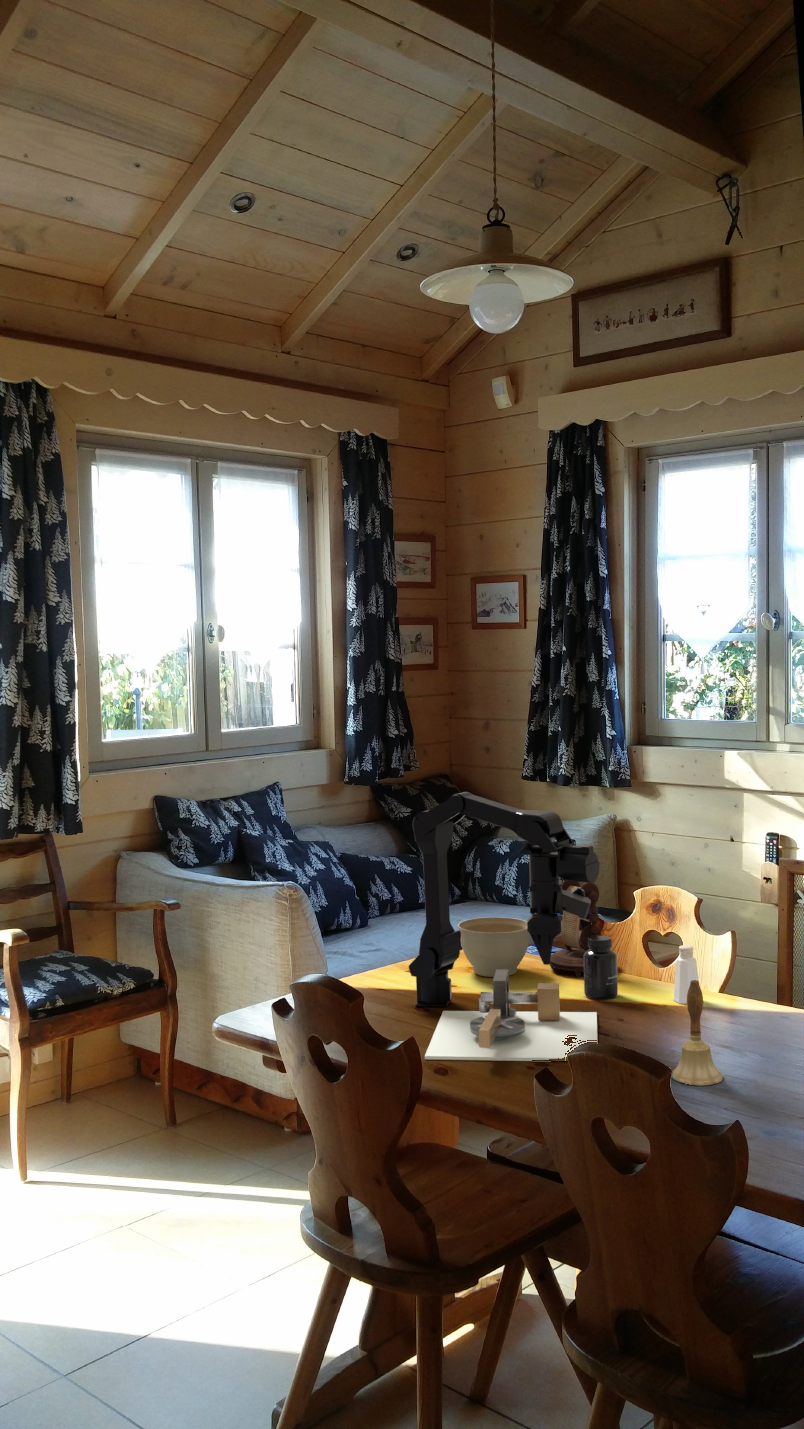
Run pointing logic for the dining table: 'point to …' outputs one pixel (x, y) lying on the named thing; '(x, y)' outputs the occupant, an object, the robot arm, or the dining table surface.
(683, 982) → the pepper shaker
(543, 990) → the wooden mallet
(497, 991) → the iron eye
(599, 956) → the supplement bottle
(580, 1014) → the white board
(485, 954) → the planter bowl
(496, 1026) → the handwheel
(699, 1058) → the hand bell
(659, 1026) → the dining table surface
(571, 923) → the brown upright piece
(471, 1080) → the dining table surface
